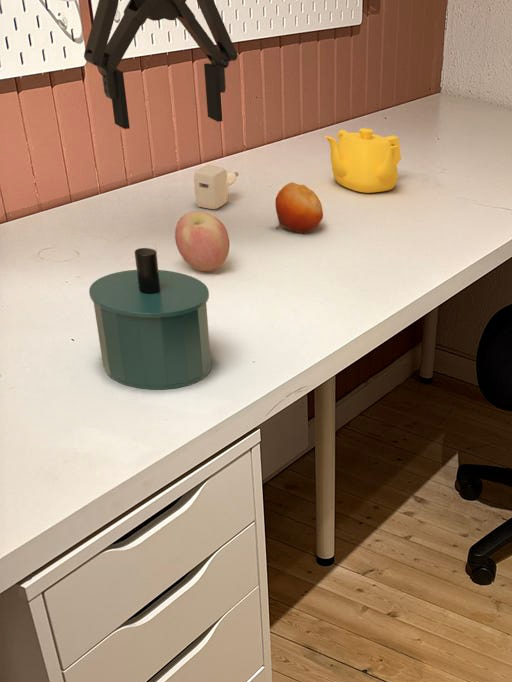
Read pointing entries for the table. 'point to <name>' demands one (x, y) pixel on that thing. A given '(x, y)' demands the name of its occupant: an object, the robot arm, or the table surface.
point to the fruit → (298, 208)
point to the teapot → (365, 160)
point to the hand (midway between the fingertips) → (170, 122)
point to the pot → (155, 348)
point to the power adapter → (212, 186)
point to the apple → (202, 240)
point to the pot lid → (148, 290)
